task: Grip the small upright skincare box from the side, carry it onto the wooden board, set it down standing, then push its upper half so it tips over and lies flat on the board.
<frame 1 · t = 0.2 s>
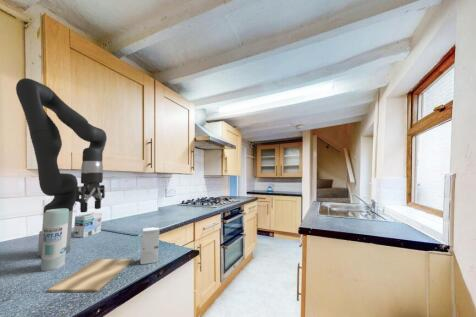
hand: (91, 210, 83), 18 cm above the counter, tool pointing down, fingers open, 8 cm apart
light bulb box: (87, 234, 108), on the counter
skincare box: (149, 261, 75), on the counter
wooden board: (96, 273, 66), on the counter
spray paint can: (53, 267, 70), on the counter
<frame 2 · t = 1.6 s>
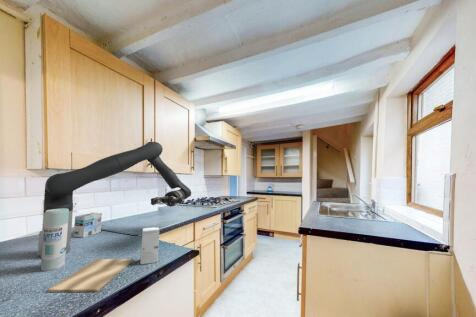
hand: (161, 202, 88), 20 cm above the counter, tool horizontal, fingers open, 8 cm apart
nothing on the counter moved.
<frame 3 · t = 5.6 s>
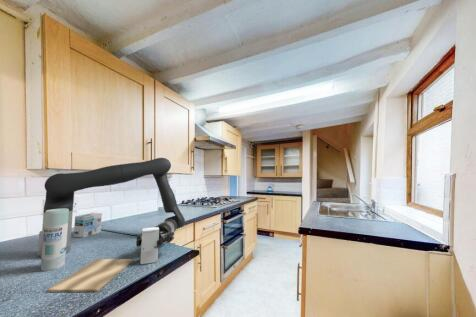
hand: (147, 243, 74), 7 cm above the counter, tool horizontal, fingers closed on skincare box, 7 cm apart
skincare box: (149, 261, 75), on the counter, touching gripper
everything else where it was.
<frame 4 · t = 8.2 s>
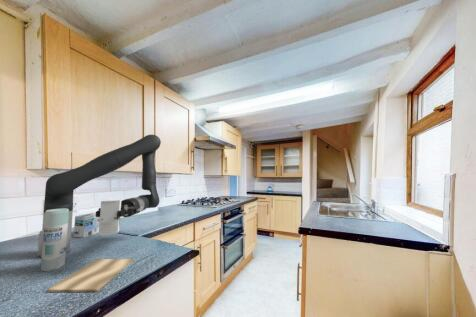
hand: (107, 214, 71), 19 cm above the counter, tool horizontal, fingers closed on skincare box, 7 cm apart
skincare box: (109, 233, 72), point 11 cm above the counter, touching gripper
everything else where it was.
when the fingers open (8 cm above the counter, at t = 10.8 s): skincare box stays where it is, resting on wooden board.
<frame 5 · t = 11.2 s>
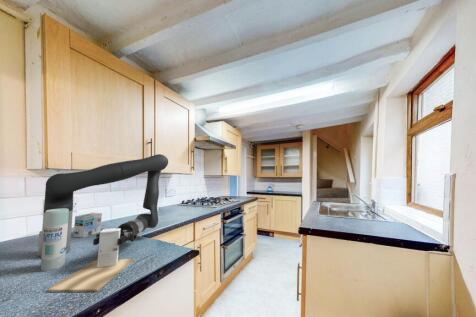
hand: (106, 242, 70), 9 cm above the counter, tool horizontal, fingers open, 8 cm apart
skincare box: (108, 264, 71), resting on wooden board
everything else where it was.
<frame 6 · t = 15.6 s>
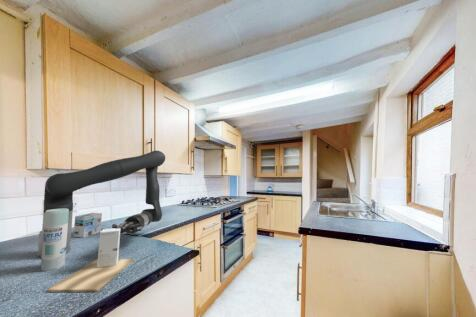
hand: (114, 233, 75), 11 cm above the counter, tool horizontal, fingers closed
skincare box: (108, 264, 71), resting on wooden board, touching gripper
everything else where it was.
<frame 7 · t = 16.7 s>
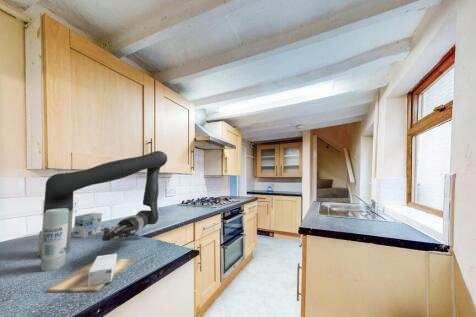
hand: (105, 238, 70), 11 cm above the counter, tool horizontal, fingers closed
skincare box: (107, 259, 70), point 3 cm above the counter, touching wooden board
everything else where it was.
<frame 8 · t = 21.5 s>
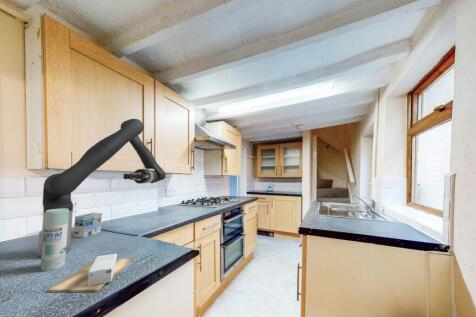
hand: (126, 176, 88), 32 cm above the counter, tool horizontal, fingers closed
nothing on the counter moved.
at the end: skincare box tilted 92°; skincare box inside the target area on the wooden board (3.9 cm from its centre), point 2.9 cm above the wooden board's base; the gripper is holding nothing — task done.
